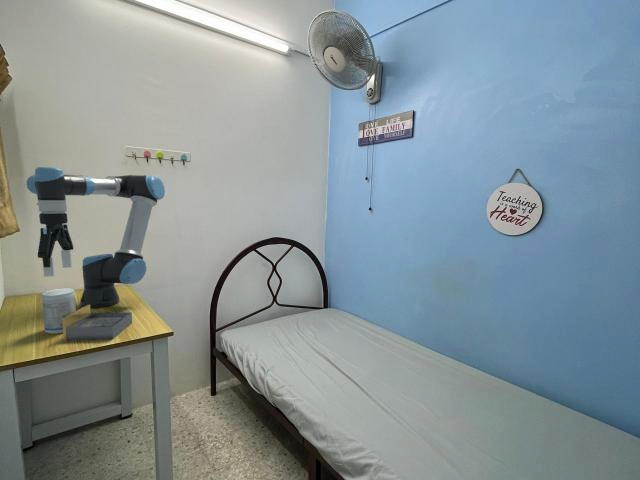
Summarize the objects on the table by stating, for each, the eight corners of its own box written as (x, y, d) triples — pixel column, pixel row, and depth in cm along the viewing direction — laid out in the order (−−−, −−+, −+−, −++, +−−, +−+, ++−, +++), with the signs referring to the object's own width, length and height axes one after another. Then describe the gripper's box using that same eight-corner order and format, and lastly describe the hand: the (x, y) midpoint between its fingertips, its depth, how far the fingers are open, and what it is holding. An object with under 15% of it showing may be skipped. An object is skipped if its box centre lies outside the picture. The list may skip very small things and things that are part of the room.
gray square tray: (89, 324, 124) (87, 304, 123) (132, 323, 127) (131, 303, 126) (63, 340, 110) (62, 318, 109) (113, 339, 112) (112, 317, 111)
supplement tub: (57, 324, 123) (54, 287, 122) (83, 324, 124) (80, 287, 123) (37, 335, 114) (34, 295, 112) (65, 334, 115) (63, 295, 113)
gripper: (57, 210, 122) (62, 264, 125) (18, 214, 98) (26, 281, 101) (80, 210, 124) (84, 263, 127) (48, 214, 100) (54, 279, 103)
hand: (58, 271), depth 114 cm, fingers open, 13 cm apart
